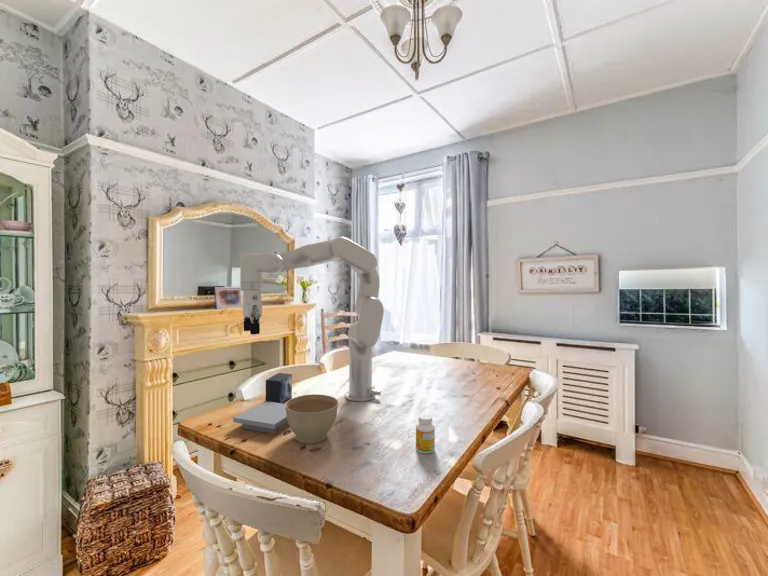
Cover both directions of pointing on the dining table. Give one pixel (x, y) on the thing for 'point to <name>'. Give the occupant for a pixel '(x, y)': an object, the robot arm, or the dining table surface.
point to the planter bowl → (311, 416)
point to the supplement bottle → (425, 434)
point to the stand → (263, 417)
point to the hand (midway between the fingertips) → (251, 332)
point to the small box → (279, 388)
